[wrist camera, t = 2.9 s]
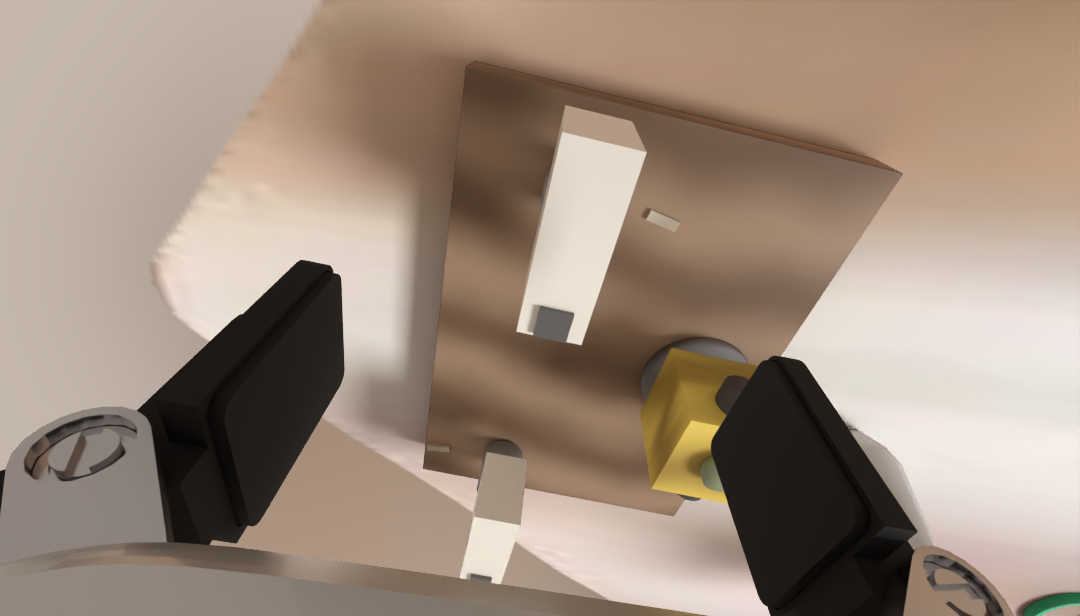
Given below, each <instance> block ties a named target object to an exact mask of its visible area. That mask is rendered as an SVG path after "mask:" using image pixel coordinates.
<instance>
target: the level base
mask: <svg viewBox="0 0 1080 616" xmlns="http://www.w3.org/2000/svg"><path fill="white" fill-rule="evenodd" d="M565 105H567V106H571V107H575V108H579V109H583V110H588V111H592V112H596V113H600V114H604V115H608V116H612V117H616V118H620V119H625V120H629V121H632V122H633V124H634V126H635V128H636V130H637V133H638V135H639V137H640V139H641V141H642V143H643V145H644V147H645V150H646V152H647V153H646V156H645V159H644V162H643V165H642V168H641V171H640V174H639V177H638V180H637V183H636V186H635V189H634V192H633V194H632V197H631V200H630V203H629V206H628V209H627V212H626V215H625V218H624V221H623V224H622V227H621V230H620V233H619V236H618V239H617V242H616V245H615V248H614V251H613V253H612V256H611V259H610V262H609V265H608V268H607V271H606V274H605V277H604V280H603V283H602V286H601V289H600V292H599V295H598V298H597V301H596V304H595V307H594V310H593V312H592V315H591V318H590V321H589V324H588V327H587V330H586V333H585V336H584V339H583V342H582V345H578V344H573V343H568V342H566V343H563V342H558V341H553V340H548V339H544V338H539V337H534V336H533V335H530V334H526V333H521V332H516V331H517V325H518V320H519V314H520V309H521V304H522V298H523V293H524V287H525V282H526V277H527V272H528V268H529V263H530V259H531V254H532V250H533V246H534V241H535V237H536V232H537V228H538V224H539V219H540V215H541V198H542V193H543V187H544V182H545V177H546V173H547V171H548V169H549V167H550V166H551V164H552V162H553V157H554V153H555V148H556V144H557V140H558V135H559V131H560V126H561V122H562V117H563V113H564V109H565ZM902 174H903V173H901V172H899V171H897V170H895V169H893V168H891V167H889V166H887V165H885V164H883V163H881V162H880V161H878V160H874V159H870V158H866V157H862V156H858V155H854V154H850V153H846V152H842V151H838V150H834V149H830V148H826V147H821V146H817V145H813V144H809V143H805V142H801V141H797V140H793V139H789V138H785V137H781V136H777V135H773V134H769V133H765V132H761V131H757V130H752V129H748V128H744V127H740V126H736V125H732V124H728V123H724V122H720V121H716V120H712V119H708V118H704V117H700V116H696V115H692V114H687V113H683V112H679V111H675V110H671V109H667V108H663V107H659V106H655V105H651V104H647V103H643V102H639V101H635V100H631V99H627V98H622V97H618V96H614V95H610V94H606V93H602V92H598V91H594V90H590V89H586V88H582V87H578V86H574V85H570V84H566V83H562V82H557V81H553V80H549V79H545V78H541V77H537V76H533V75H529V74H525V73H521V72H517V71H513V70H509V69H505V68H501V67H497V66H492V65H488V64H484V63H480V62H476V61H475V62H473V63H471V64H470V65H468V66H466V71H465V80H464V89H463V99H462V108H461V117H460V127H459V136H458V146H457V155H456V164H455V174H454V183H453V192H452V202H451V211H450V220H449V230H448V239H447V249H446V258H445V267H444V277H443V286H442V295H441V305H440V314H439V323H438V333H437V342H436V352H435V361H434V370H433V380H432V389H431V398H430V408H429V417H428V426H427V436H426V445H425V455H424V464H423V469H427V470H433V471H438V472H443V473H448V474H454V475H459V476H464V477H469V478H475V479H479V476H480V471H481V466H482V461H483V457H484V452H485V449H486V447H487V446H488V445H489V444H491V443H493V442H498V441H505V442H510V443H513V444H515V445H516V446H518V447H519V448H520V449H521V451H522V453H523V459H526V460H527V469H526V478H525V487H524V488H527V489H533V490H538V491H543V492H548V493H554V494H559V495H564V496H569V497H575V498H580V499H585V500H591V501H596V502H601V503H606V504H612V505H617V506H622V507H627V508H633V509H638V510H643V511H648V512H654V513H659V514H664V515H669V516H674V515H675V514H676V512H677V511H678V509H679V508H680V506H681V505H682V503H683V502H684V500H685V499H686V500H690V501H697V500H700V499H701V498H702V499H707V500H712V501H718V502H723V503H728V502H727V499H726V496H725V493H724V490H723V487H722V484H721V481H720V478H719V475H718V472H717V469H716V466H715V463H714V460H713V457H712V453H711V442H712V439H713V436H714V435H715V433H716V432H717V430H718V429H719V427H720V425H721V424H722V422H723V421H724V419H725V418H726V416H727V414H728V413H729V411H730V410H731V408H732V406H733V405H734V403H735V402H736V400H737V399H738V397H739V395H740V394H741V392H742V391H743V389H744V387H745V386H746V384H747V383H748V381H749V380H750V378H751V376H752V375H753V373H754V372H755V370H756V369H757V367H758V365H759V364H760V363H761V362H762V361H764V360H768V359H769V358H770V357H772V356H781V355H782V354H783V352H784V351H785V349H786V348H787V346H788V345H789V343H790V342H791V340H792V339H793V337H794V336H795V334H796V333H797V331H798V330H799V328H800V327H801V325H802V324H803V322H804V321H805V319H806V318H807V316H808V315H809V313H810V312H811V310H812V309H813V307H814V306H815V304H816V303H817V301H818V300H819V298H820V297H821V295H822V294H823V292H824V291H825V289H826V288H827V286H828V285H829V283H830V282H831V281H832V279H833V278H834V276H835V275H836V273H837V272H838V270H839V269H840V267H841V266H842V264H843V263H844V261H845V260H846V258H847V257H848V255H849V254H850V252H851V251H852V249H853V248H854V246H855V245H856V243H857V242H858V240H859V239H860V237H861V236H862V234H863V233H864V231H865V230H866V228H867V227H868V225H869V224H870V222H871V221H872V219H873V218H874V216H875V215H876V213H877V212H878V210H879V209H880V207H881V206H882V204H883V203H884V201H885V200H886V198H887V197H888V195H889V194H890V192H891V191H892V189H893V188H894V186H895V185H896V183H897V182H898V180H899V179H900V177H901V176H902Z"/></svg>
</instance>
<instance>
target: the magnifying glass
mask: <svg viewBox="0 0 1080 616" xmlns="http://www.w3.org/2000/svg"><path fill="white" fill-rule="evenodd" d="M1074 605H1080V593H1069V594H1061V595H1055V596H1051V597H1047V598H1044V599H1041V600H1039V601H1037V602H1035V603H1033V604H1031V605H1030V606H1028V607H1027V608H1026V609H1025V611H1024V616H1041V615H1043V614H1045V613H1047V612H1049V611H1051V610H1054V609H1058V608H1062V607H1066V606H1074Z"/></svg>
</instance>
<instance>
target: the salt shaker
mask: <svg viewBox="0 0 1080 616" xmlns="http://www.w3.org/2000/svg"><path fill="white" fill-rule="evenodd" d="M850 432H851V433H852V435H853V436H854V438H855V439H856V441H857V442H858V444H859V445H860V447H861V448H862V450H863V451H864V452H865V454H866V455H867V457H868V458H869V460H870V461H871V463H872V464H873V466H874V467H875V469H876V470H877V472H878V473H879V475H880V476H881V478H882V479H883V481H884V482H885V484H886V485H887V487H888V488H889V489H890V491H891V492H892V494H893V495H894V497H895V498H896V500H897V501H898V503H899V504H900V506H901V507H902V509H903V510H904V512H905V513H906V515H907V516H908V518H909V519H910V521H911V522H912V524H913V525H914V526H915V528H916V529H917V531H918V532H917V533H916V534H915V535H914V536H913V537H911V538H910V539H909V540H908V542H909V543H910V545H911V546H912V548H913V550H915V549H916V548H918V547H921V546H923V545H926V546H935V547H936V544H935V542H934V540H933V537H932V535H931V533H930V530H929V528H928V526H927V523H926V521H925V518H924V516H923V514H922V511H921V509H920V507H919V504H918V502H917V500H916V497H915V495H914V493H913V490H912V488H911V486H910V483H909V481H908V479H907V476H906V474H905V472H904V469H903V467H902V464H901V463H900V462H899V461H898V460H897V459H896V458H895V457H894V456H893V455H892V454H891V453H890V452H889V451H888V449H887V448H886V447H884V446H883V445H881V444H879V443H878V442H876V441H875V440H873V439H872V438H870V437H868V436H867V435H865V434H864V433H862V432H861V431H858V430H850Z"/></svg>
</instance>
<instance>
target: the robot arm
mask: <svg viewBox="0 0 1080 616" xmlns="http://www.w3.org/2000/svg"><path fill="white" fill-rule="evenodd" d="M343 376H344V345H343V317H342V289H341V277H340V275H339V274H335V273H333V269H332V267H331V266H330V265H325V264H320V263H315V262H310V261H305V260H300V261H298V262H297V263H296V264H295V265H294V266H293V267H292V268H291V269H290V270H289V271H288V272H286V273H285V274H284V275H283V276H282V277H281V278H280V279H279V280H278V281H277V282H276V283H275V284H274V285H273V286H272V287H271V288H270V289H269V290H268V291H267V292H266V293H264V294H263V295H262V296H261V297H260V298H259V299H258V300H257V301H256V302H255V303H254V304H253V305H252V306H251V307H250V308H249V309H248V310H247V311H246V312H245V313H244V314H241V315H239V316H237V317H236V318H235V319H233V320H232V321H231V322H230V323H229V324H228V325H227V326H226V327H225V328H224V329H223V330H222V331H221V332H219V333H218V334H217V335H216V336H215V337H214V338H213V339H212V340H211V341H210V342H209V343H208V344H207V345H206V346H205V347H204V348H203V349H202V350H201V351H199V352H198V353H197V354H196V355H195V356H194V357H193V358H192V359H191V360H190V361H189V362H188V363H187V364H186V365H185V366H183V367H182V368H181V369H180V370H179V371H178V372H177V373H176V374H175V375H174V376H173V377H172V378H171V379H170V380H169V381H168V382H167V383H165V385H163V386H162V387H161V388H160V389H159V390H158V391H157V392H156V393H155V394H154V395H153V396H152V397H151V398H150V399H149V400H148V401H146V403H145V404H143V405H142V406H141V407H140V408H139V409H138V410H137V411H136V410H132V409H128V408H124V407H100V408H93V409H88V410H82V411H79V412H76V413H73V414H70V415H67V416H64V417H61V418H59V419H57V420H55V421H53V422H51V423H49V424H47V425H45V426H43V427H41V428H40V429H38V430H37V431H36V432H34V433H33V434H31V435H30V436H28V437H27V438H26V439H24V440H23V441H22V442H21V444H20V445H19V446H18V447H17V448H16V449H15V450H14V451H13V453H12V454H11V456H10V459H9V461H8V464H7V466H6V469H5V470H2V471H0V616H705V615H699V614H693V613H686V612H680V611H673V610H667V609H660V608H654V607H647V606H641V605H634V604H628V603H621V602H614V601H608V600H601V599H595V598H588V597H581V596H575V595H568V594H562V593H555V592H548V591H542V590H535V589H528V588H522V587H515V586H508V585H502V584H495V583H489V582H482V581H475V580H468V579H461V578H454V577H447V576H441V575H434V574H427V573H420V572H413V571H406V570H400V569H392V568H386V567H379V566H372V565H366V564H359V563H352V562H345V561H337V560H330V559H322V558H314V557H306V556H299V555H291V554H283V553H276V552H268V551H260V550H253V549H245V548H237V547H226V546H214V545H209V544H210V543H211V541H212V540H217V541H223V542H230V543H237V542H238V540H239V539H240V537H241V535H242V534H243V532H244V530H245V529H246V527H247V526H255V525H257V523H258V522H259V521H260V520H261V518H262V517H263V515H264V514H265V512H266V510H267V508H268V507H269V505H270V503H271V501H272V500H273V498H274V497H275V495H276V493H277V492H278V489H279V488H280V487H281V485H282V483H283V481H284V479H285V478H286V476H287V474H288V473H289V471H290V469H291V468H292V466H293V464H294V463H295V461H296V459H297V458H298V456H299V454H300V453H301V451H302V449H303V448H304V446H305V444H306V443H307V441H308V439H309V437H310V436H311V434H312V432H313V431H314V429H315V427H316V425H317V424H318V422H319V421H320V419H321V417H322V415H323V414H324V412H325V410H326V409H327V407H328V405H329V404H330V402H331V400H332V399H333V397H334V395H335V393H336V392H337V390H338V388H339V387H340V385H341V382H342V380H343ZM711 453H712V457H713V460H714V463H715V466H716V469H717V472H718V475H719V478H720V481H721V484H722V487H723V490H724V493H725V496H726V499H727V502H728V505H729V508H730V511H731V514H732V517H733V520H734V523H735V526H736V529H737V532H738V535H739V538H740V541H741V544H742V547H743V550H744V553H745V556H746V560H747V563H748V566H749V569H750V572H751V575H752V578H753V581H754V584H755V587H756V590H757V593H758V595H759V598H760V600H761V601H762V603H763V604H764V605H766V606H767V607H768V609H769V612H770V615H771V616H1014V615H1013V613H1012V611H1011V609H1010V608H1009V606H1008V604H1007V602H1006V601H1005V599H1004V598H1003V597H1002V596H1001V594H1000V593H999V592H998V591H997V589H996V588H995V587H994V586H993V585H992V584H991V583H990V582H989V581H988V580H987V579H986V578H985V577H984V576H983V575H982V574H981V573H980V572H979V571H978V570H976V569H975V568H974V567H972V566H971V565H970V564H968V563H967V562H966V561H964V560H963V559H961V558H959V557H958V556H956V555H954V554H952V553H951V552H949V551H946V550H944V549H941V548H938V547H935V546H926V545H923V546H921V547H918V548H916V549H915V550H913V548H912V546H911V545H910V543H909V542H908V540H909V539H910V538H911V537H913V536H914V535H915V534H916V533H917V532H918V531H917V529H916V528H915V526H914V525H913V524H912V522H911V521H910V519H909V518H908V516H907V515H906V513H905V512H904V510H903V509H902V507H901V506H900V504H899V503H898V501H897V500H896V498H895V497H894V495H893V494H892V492H891V491H890V489H889V488H888V487H887V485H886V484H885V482H884V481H883V479H882V478H881V476H880V475H879V473H878V472H877V470H876V469H875V467H874V466H873V464H872V463H871V461H870V460H869V458H868V457H867V455H866V454H865V452H864V451H863V450H862V448H861V447H860V445H859V444H858V442H857V441H856V439H855V438H854V436H853V435H852V433H851V432H850V430H849V429H848V427H847V426H846V424H845V423H844V421H843V420H842V418H841V417H840V415H839V414H838V412H837V411H836V410H835V408H834V407H833V405H832V404H831V402H830V401H829V399H828V398H827V396H826V395H825V393H824V392H823V390H822V389H821V387H820V386H819V384H818V383H817V381H816V380H815V378H814V377H813V375H812V374H811V373H810V371H809V370H808V368H807V367H806V365H805V364H804V363H803V362H802V361H800V360H796V359H791V358H786V357H781V356H772V357H770V358H769V359H768V360H764V361H762V362H761V363H760V364H759V365H758V367H757V369H756V370H755V372H754V373H753V375H752V376H751V378H750V380H749V381H748V383H747V384H746V386H745V387H744V389H743V391H742V392H741V394H740V395H739V397H738V399H737V400H736V402H735V403H734V405H733V406H732V408H731V410H730V411H729V413H728V414H727V416H726V418H725V419H724V421H723V422H722V424H721V425H720V427H719V429H718V430H717V432H716V433H715V435H714V436H713V439H712V442H711Z"/></svg>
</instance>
